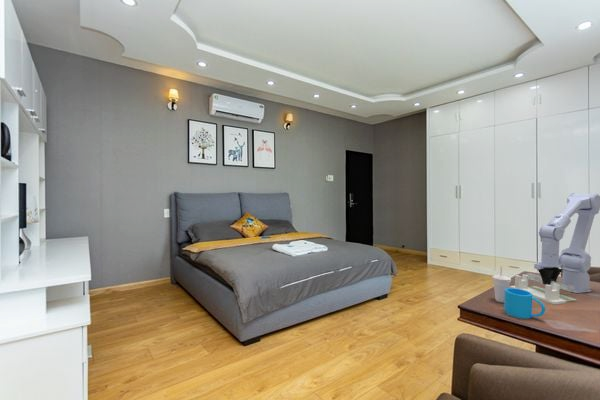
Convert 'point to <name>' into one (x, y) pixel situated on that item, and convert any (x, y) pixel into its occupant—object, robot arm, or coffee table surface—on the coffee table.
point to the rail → (551, 282)
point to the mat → (559, 295)
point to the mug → (520, 303)
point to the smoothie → (500, 286)
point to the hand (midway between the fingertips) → (548, 284)
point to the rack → (549, 295)
